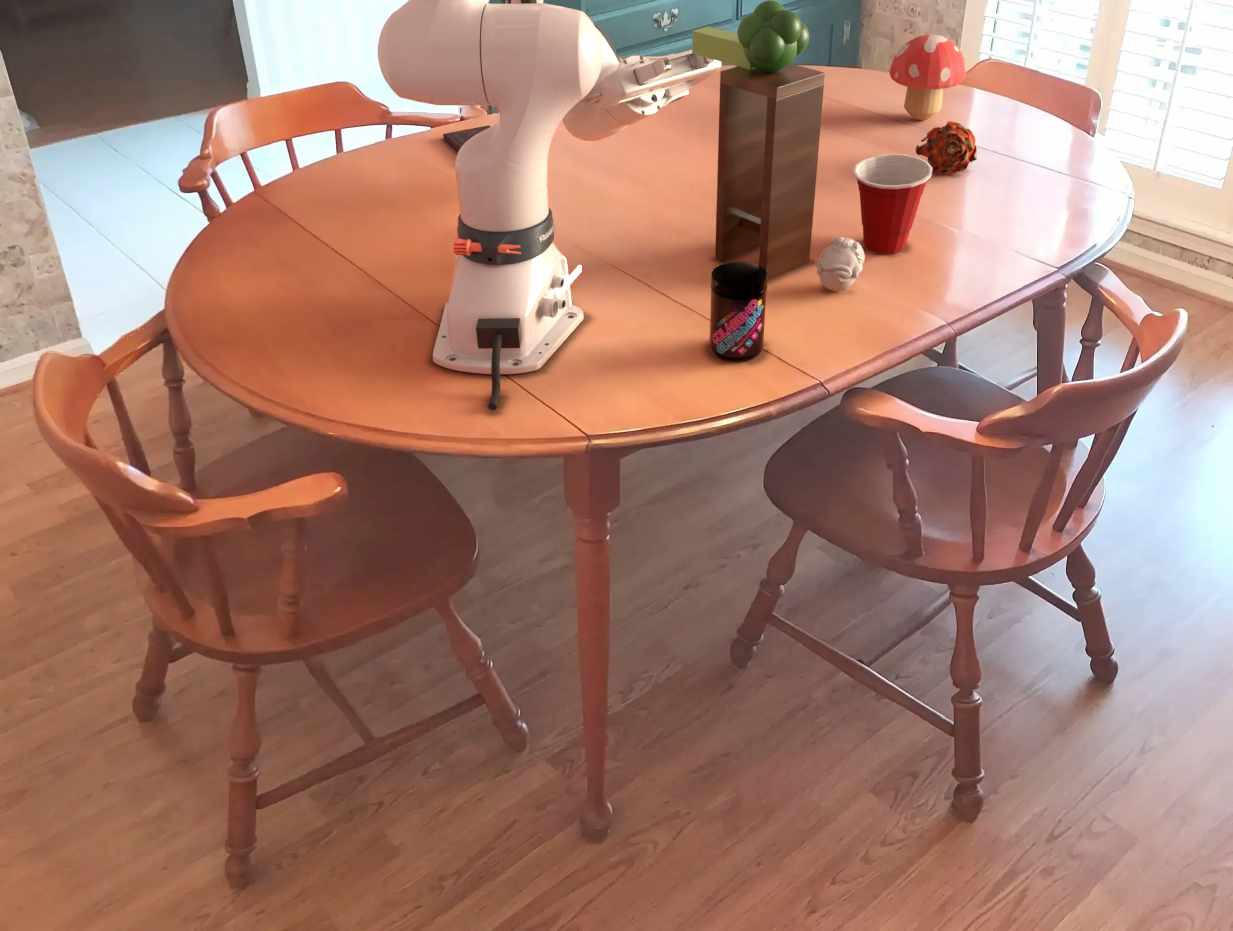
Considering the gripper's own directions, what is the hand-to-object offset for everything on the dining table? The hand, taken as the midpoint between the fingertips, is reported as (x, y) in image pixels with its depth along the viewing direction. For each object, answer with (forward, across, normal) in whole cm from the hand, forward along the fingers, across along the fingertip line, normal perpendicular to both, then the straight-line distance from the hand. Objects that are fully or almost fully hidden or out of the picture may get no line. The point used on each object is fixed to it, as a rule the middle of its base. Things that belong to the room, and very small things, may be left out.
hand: (691, 56), depth 151 cm
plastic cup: (+8, +16, +34) cm, 39 cm away
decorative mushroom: (-18, +65, +19) cm, 70 cm away
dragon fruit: (-3, +47, +28) cm, 55 cm away
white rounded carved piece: (+12, +1, +36) cm, 38 cm away
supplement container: (+14, -21, +38) cm, 45 cm away
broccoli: (+9, 0, +4) cm, 10 cm away
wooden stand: (0, 0, +30) cm, 30 cm away
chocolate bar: (-57, -3, -3) cm, 57 cm away
